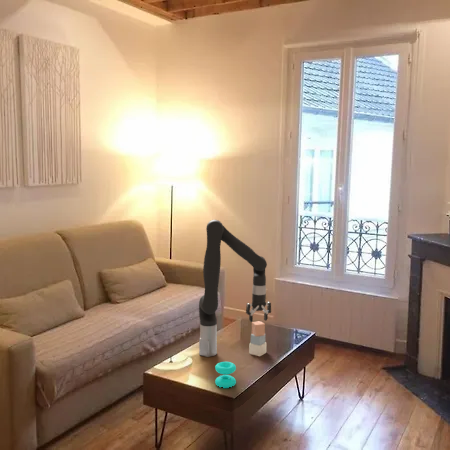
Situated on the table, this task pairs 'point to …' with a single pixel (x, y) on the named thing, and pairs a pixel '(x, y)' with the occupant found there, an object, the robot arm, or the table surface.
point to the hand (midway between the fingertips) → (258, 320)
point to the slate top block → (257, 339)
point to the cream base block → (257, 349)
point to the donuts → (225, 369)
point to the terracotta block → (258, 328)
